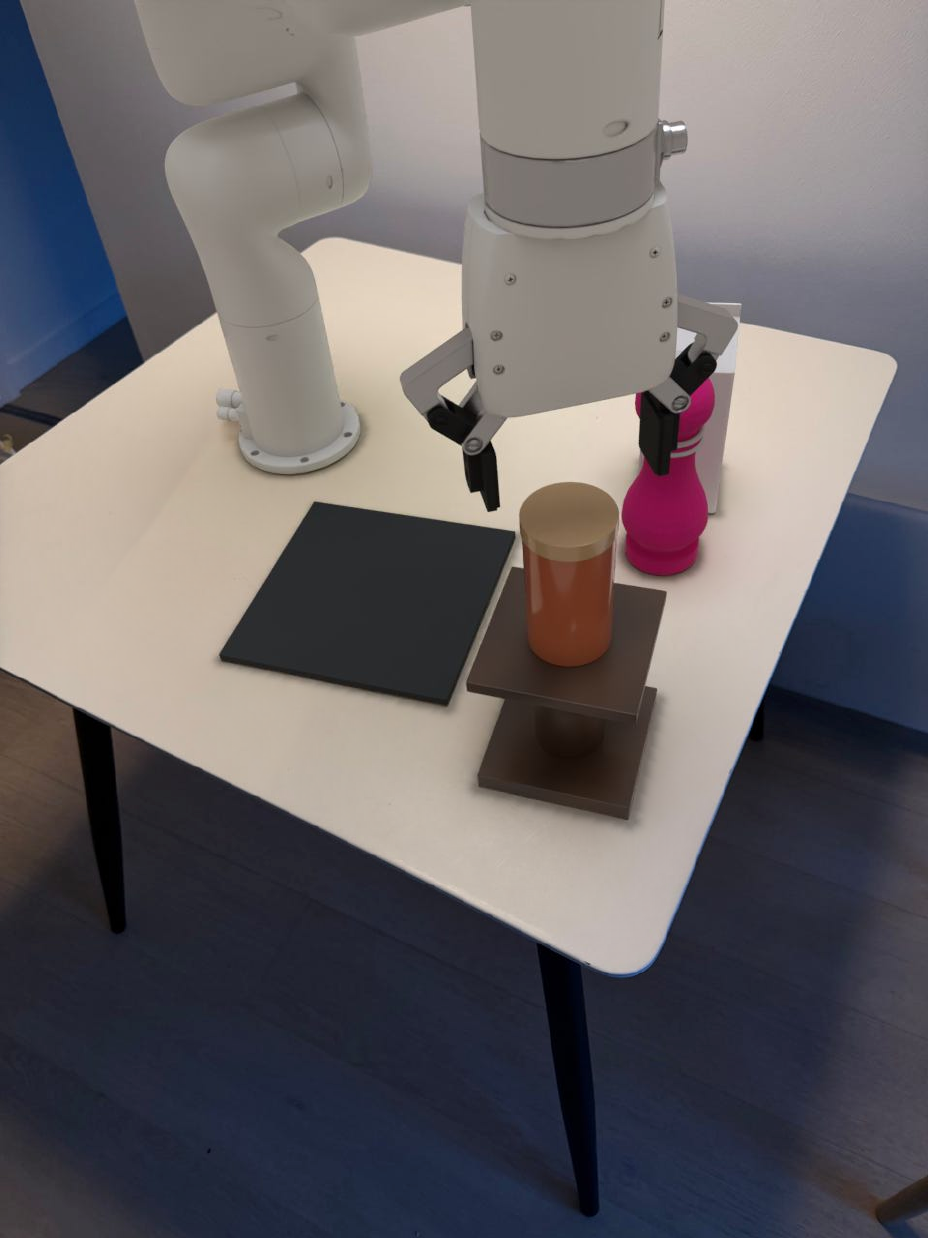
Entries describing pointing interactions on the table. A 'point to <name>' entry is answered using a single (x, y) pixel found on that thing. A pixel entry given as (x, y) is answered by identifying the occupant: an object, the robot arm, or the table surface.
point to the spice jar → (569, 571)
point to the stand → (569, 706)
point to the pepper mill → (670, 498)
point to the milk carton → (714, 411)
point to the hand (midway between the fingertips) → (571, 478)
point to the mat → (373, 601)
